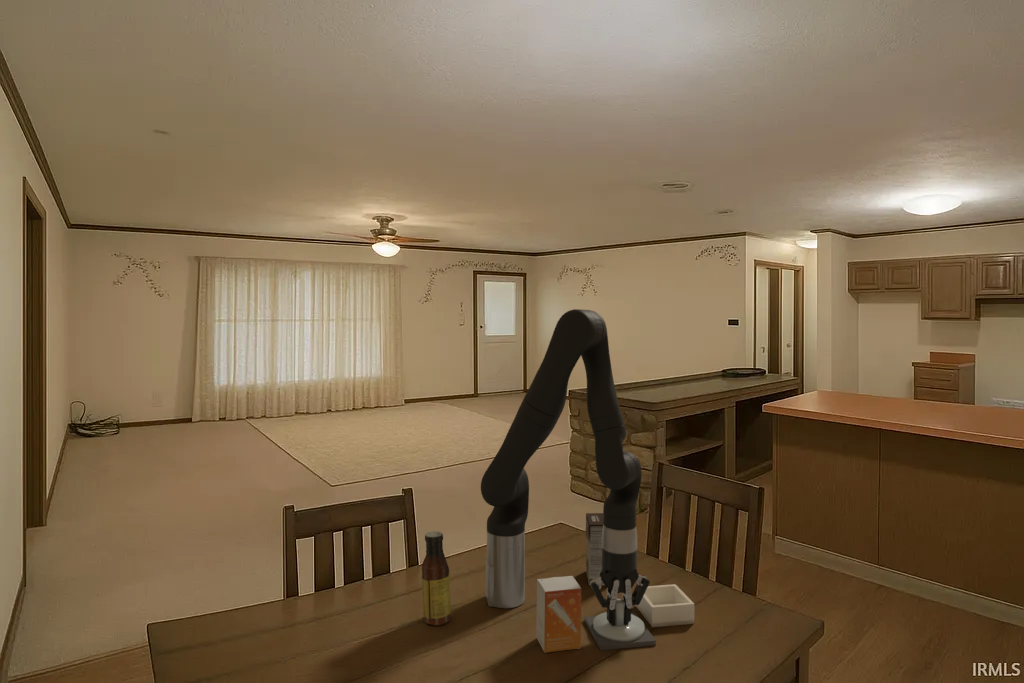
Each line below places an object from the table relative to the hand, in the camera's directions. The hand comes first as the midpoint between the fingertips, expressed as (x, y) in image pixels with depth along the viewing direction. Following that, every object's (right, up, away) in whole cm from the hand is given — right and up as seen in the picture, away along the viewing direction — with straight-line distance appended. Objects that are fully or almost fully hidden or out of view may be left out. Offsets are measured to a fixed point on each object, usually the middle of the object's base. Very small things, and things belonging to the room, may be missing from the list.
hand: (618, 623), depth 131 cm
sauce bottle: (-40, -2, +6) cm, 41 cm away
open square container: (+12, -2, +8) cm, 14 cm away
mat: (0, -2, 0) cm, 2 cm away
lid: (0, -1, 0) cm, 1 cm away
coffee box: (0, -1, +27) cm, 27 cm away
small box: (-14, -2, -4) cm, 14 cm away
